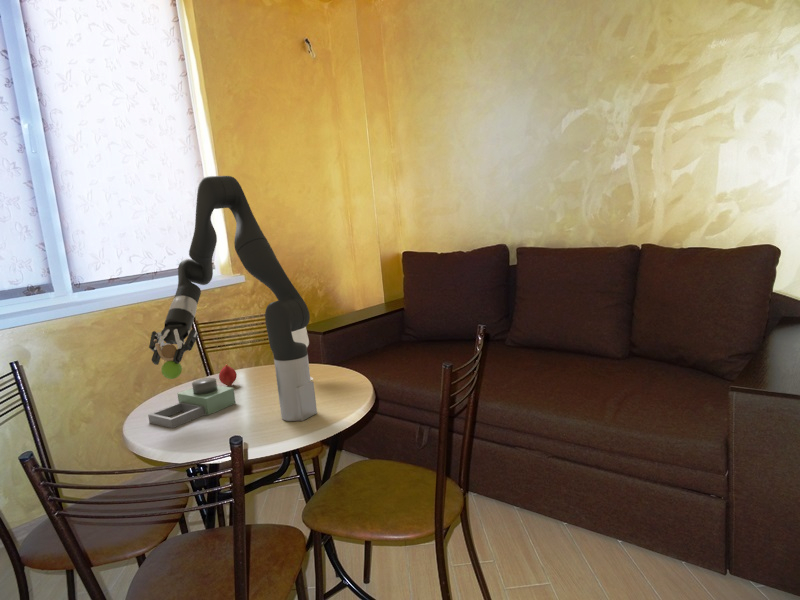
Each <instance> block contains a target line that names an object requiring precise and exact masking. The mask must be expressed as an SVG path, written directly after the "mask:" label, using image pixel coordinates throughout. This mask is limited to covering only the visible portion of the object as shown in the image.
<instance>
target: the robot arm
mask: <svg viewBox="0 0 800 600" xmlns="http://www.w3.org/2000/svg"><path fill="white" fill-rule="evenodd" d="M199 181H200V182H199V184H198V187H197V193H196V204H195V205H196V206H195V220H194V221H195V222H194V224H195V225H194V231H193V236H192V238H191V242H190V247H189V250H188V255H189V257H190V258H184V259H182V260H181V261H180V262H179V264H178V268H177V276H178V277H177V278H178V279H177V280H178V281H177V288H176V292H175V294H174V297H173V300H172V302H171V303H170V305H169V309H168V312H167V315H166V316H165V321H164V327H163V329H162V330H161V331H159V332H158V331H154V330H153V331H152V332H151V334H150V342H149V345H148V348H149V349H150V350H151V351H152V352H153V354H152V357H151V362H152V364H154V365H155V366H157V365H159V364H160V361H161V359H162V358H161V357H160V356H159V354H158V351H157V348H156V347H155V344H156V342H157V343H159V344H160V347H161V350H162V348H163V346H164V345H166V344H172V345H177V348H176V352H175V355H174V358H173V361H174V362H175V363H176V364H179V363H180V362H182V361H183V360H182V359H183V356H184V353H186V351H191V350H193V347H194V345H195V343H196V341H197V339H198V336H199V332H197V331H196V330H195V329H194V328H192V327H193V323H194V319H195V317H196V314H197V309H198V304H199V301H200V298H201V294H202V290H201V288H200V287H199V286H198V285H202V286H207V285H208V284H209V283H210V282H211V281H212V279H213V276H214V275H213V274H214V272H213V271H214V270H213V269H214V268H213V257H214V252H215V250H216V246H217V242H218V236H217V232H216V230H215V228H214V225H213V223H212V221H211V219H212V215H213V212H214V210H216V209H229V210H230V212H231V213H232V215H233V218H234V219H235V220H234V221H235V223H236V227H235V233H234V234H235V235H234V240H233V241H234V242H233V244H234V250H235V252H236V254H237V257H238V258H239V260H240V262H241V264H242V265H243V267H244V269H245V270H246V271H247V272H248V273H249V274H250V275H251V276H252V277H253V278H255V279H256V280H258V281H259V282H260V283H262V284H263V285H265V286H266V287H267V288H268V289H269V290H270V291H271V292H272V293H273V295H274V296H275V298H276V299H277V300H275V301H272V302H270V303H268V305H267V306H266V308H265V311H264V321H265V327H266V333H267V339H268V343H269V347H270V350H271V352H272V355H273V362H274V368H275V378H276V385H277V393H278V401H279V402H278V403H279V409H280V416H281V419H282V420H283V421H287V422H298V421H302V422H303V421H306V419H309V418H311V417H313V416H314V415H316V414H318V410H317V400H316V391H315V383H314V380H312V381H311V379H310V377H311V372H310V365H309V364H310V363H309V354H308V347H306V345H305V344H304V343H299V342H295V341H294V340H293V337H292V332H293V331H296V330H299V329H302V328H304V327H306V328H307V326H308V325H309V323H310V319H311V317H310V311H309V308H308V306H307V303H306V301H305V300H304V299H303V297H302V295H301V294H300V293H299V291H298V289H297V288H296V287H295V286H294V284H293V282H292V281H291V280H290V279H289V277H288V275H287V274H286V272H285V270H284V268H283V266H282V265H281V263H280V262H279V260H278V258H277V256H276V254H275V252H274V250H273V248H272V247H271V244H270V242H269V241H268V239H267V238H266V236H265V234H264V233H263V230H262V228H261V227H260V225H259V223H258V221H257V219H256V217H255V215H254V212H253V211H252V209H251V207H250V204H249V202H248V199H247V197H246V195H245V192H244V190H243V188H242V186H241V184H240V182H239V181H238V180H237V179H236V178H235V177H234V176H233V175H211V176H205V177H203V178H201V180H199ZM191 328H192V329H191ZM155 339H157V341H154V340H155Z"/></svg>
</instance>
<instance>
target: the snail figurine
mask: <svg viewBox="0 0 800 600" xmlns="http://www.w3.org/2000/svg"><path fill="white" fill-rule="evenodd" d="M154 341H157V339H155V340H154ZM155 347H156V348H157V351H158V354H159V356H160V357H161V358H160V359H161V360H164V361H165V362H164V363H163V364H162V366H161V374H162V375H163V377H164V378H166V379H168V380H173V379H177V378H178V377H179V376H181V374H182V371H183V367H182V365H181V363H180V362H179V364H176V363H175V362H174V361H173V358H174V355H175V352H176V349H177V348H176V346H175V344H166V345H164V346H163V348H162V350H161V347H162V346H161V347H160V344H159V343H157V342H156V344H155Z"/></svg>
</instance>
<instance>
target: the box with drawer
mask: <svg viewBox="0 0 800 600" xmlns="http://www.w3.org/2000/svg"><path fill="white" fill-rule="evenodd" d="M191 386H192V387H191V388H188V389H186V390H183V391H181V392H178V393H177V401H178V403H175V404H173V405H169V406H166V407H165V408H162V409H159V410H156V411H154V412H151V413H149V414H147V415H148V422H149V423H150V424H153V425H157V426H162V427H166V428H170V429H174V428H177V427H179V426H182V425H183V424H186V423H187V422H190V421H193V420H194V419H195V420H196V419H198V418H200V417H202V416H204V415H207V416H208V415H212V414H214V413H216V412H218V411H221V410H223V409H226V408H228V407H230V406H233V405H235V404H236V396H235V391H234V387H231V386H225V385H224V386H222V385H218V384H217V378H214V377H205V378H201V379H197V380H194V381H193V382H192V383H191ZM181 412H184V413H181ZM178 413H181V414H179V415H177V414H178ZM173 415H175V416H174V417H171V416H173Z"/></svg>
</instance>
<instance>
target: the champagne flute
mask: <svg viewBox="0 0 800 600" xmlns="http://www.w3.org/2000/svg"><path fill="white" fill-rule="evenodd" d="M308 335H309V334H308V331H307V326H306V327H304V328H302V329H299V330H296V331H293V332H292V337H293V340H294V341H295V342H299V343H304V344H305V345H306V347H307V348H308V347H309V345H310V340H309V336H308ZM310 379H311V380H312V381H314V377H312V376H310Z"/></svg>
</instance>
